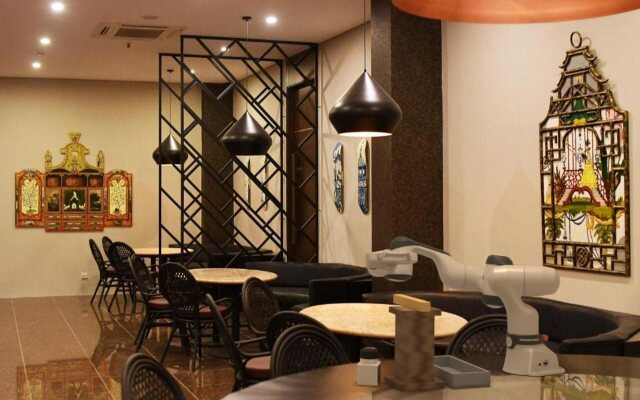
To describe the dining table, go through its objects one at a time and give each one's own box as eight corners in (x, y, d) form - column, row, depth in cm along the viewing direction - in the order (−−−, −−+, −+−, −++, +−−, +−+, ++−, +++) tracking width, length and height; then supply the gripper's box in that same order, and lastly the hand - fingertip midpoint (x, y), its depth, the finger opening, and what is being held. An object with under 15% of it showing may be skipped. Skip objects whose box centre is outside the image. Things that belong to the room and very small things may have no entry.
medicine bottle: (377, 386, 271) (378, 350, 271) (356, 385, 272) (357, 349, 272) (380, 381, 278) (381, 346, 278) (360, 380, 279) (360, 346, 279)
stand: (426, 379, 283) (427, 304, 283) (444, 388, 269) (445, 310, 269) (384, 381, 278) (384, 306, 278) (400, 391, 264) (401, 311, 264)
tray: (449, 368, 301) (450, 355, 301) (490, 386, 272) (490, 371, 272) (415, 370, 296) (415, 357, 296) (452, 389, 268) (453, 374, 268)
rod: (401, 302, 288) (401, 294, 288) (430, 311, 265) (430, 302, 265) (393, 302, 287) (393, 294, 287) (422, 311, 264) (422, 302, 264)
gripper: (411, 269, 325) (423, 262, 312) (362, 268, 320) (372, 262, 307) (410, 253, 326) (422, 246, 314) (362, 253, 322) (372, 245, 309)
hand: (397, 254), depth 310 cm, fingers open, 8 cm apart
